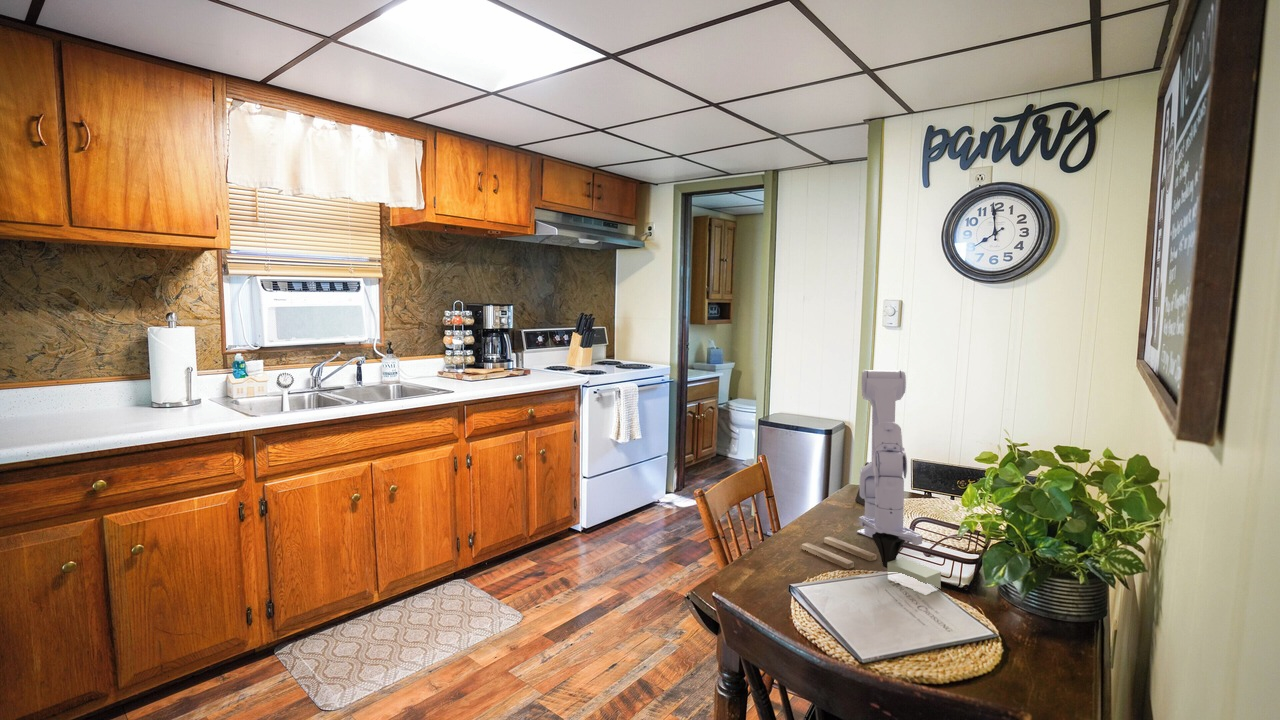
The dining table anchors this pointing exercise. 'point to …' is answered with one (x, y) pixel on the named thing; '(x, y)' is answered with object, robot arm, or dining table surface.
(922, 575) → the green block
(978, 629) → the dining table surface
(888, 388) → the robot arm
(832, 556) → the twin beige rails
